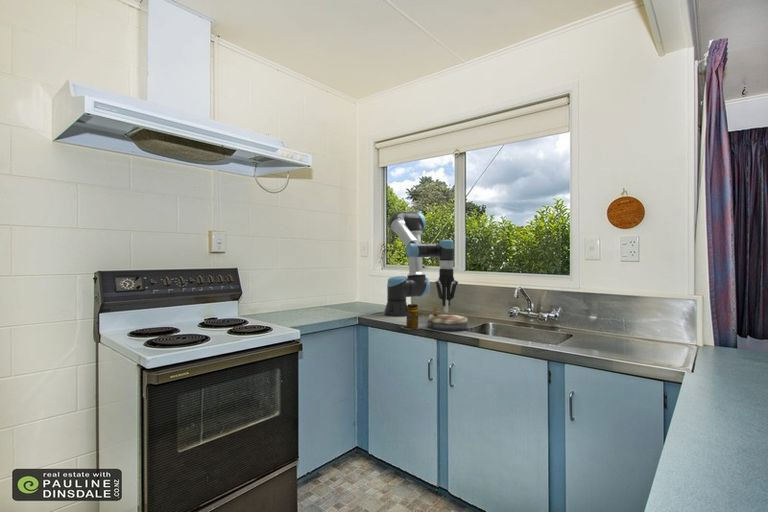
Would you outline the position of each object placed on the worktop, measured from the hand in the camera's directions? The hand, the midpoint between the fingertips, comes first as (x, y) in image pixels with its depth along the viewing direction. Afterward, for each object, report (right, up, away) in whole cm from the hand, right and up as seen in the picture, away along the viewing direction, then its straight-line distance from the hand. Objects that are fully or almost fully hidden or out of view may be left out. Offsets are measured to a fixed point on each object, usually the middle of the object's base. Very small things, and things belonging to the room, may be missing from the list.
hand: (446, 312), depth 213 cm
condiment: (-20, -7, -10) cm, 23 cm away
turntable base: (0, -7, -8) cm, 10 cm away
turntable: (0, -3, -8) cm, 8 cm away
